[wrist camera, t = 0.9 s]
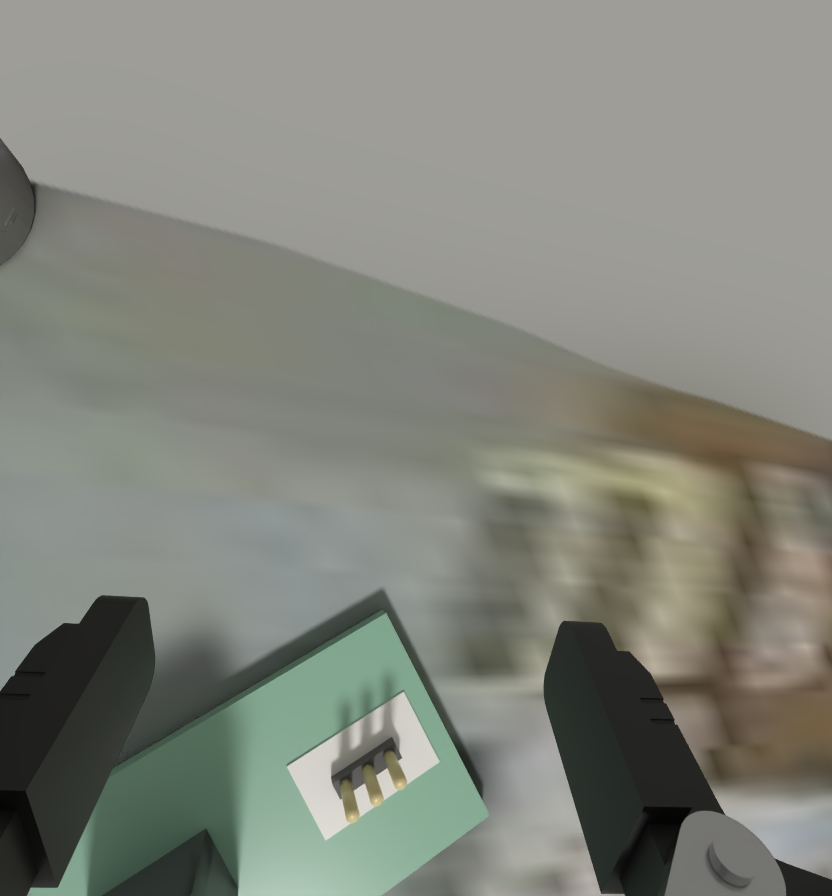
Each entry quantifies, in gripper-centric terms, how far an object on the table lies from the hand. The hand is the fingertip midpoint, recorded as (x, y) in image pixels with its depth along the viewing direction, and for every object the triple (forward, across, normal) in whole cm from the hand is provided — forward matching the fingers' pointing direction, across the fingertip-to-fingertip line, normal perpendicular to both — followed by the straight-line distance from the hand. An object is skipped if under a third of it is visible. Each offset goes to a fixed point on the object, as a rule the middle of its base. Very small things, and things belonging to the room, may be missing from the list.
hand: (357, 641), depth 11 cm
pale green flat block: (+11, +4, +25) cm, 28 cm away
